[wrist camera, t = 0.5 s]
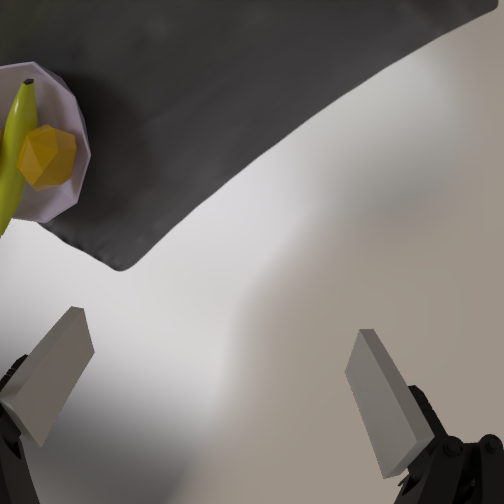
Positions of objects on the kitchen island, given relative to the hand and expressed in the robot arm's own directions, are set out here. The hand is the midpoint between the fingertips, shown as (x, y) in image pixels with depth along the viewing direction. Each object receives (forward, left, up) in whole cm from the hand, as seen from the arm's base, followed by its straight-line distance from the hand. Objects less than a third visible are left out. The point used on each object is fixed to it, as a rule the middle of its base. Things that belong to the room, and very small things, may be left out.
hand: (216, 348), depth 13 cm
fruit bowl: (-17, -25, -33) cm, 45 cm away
